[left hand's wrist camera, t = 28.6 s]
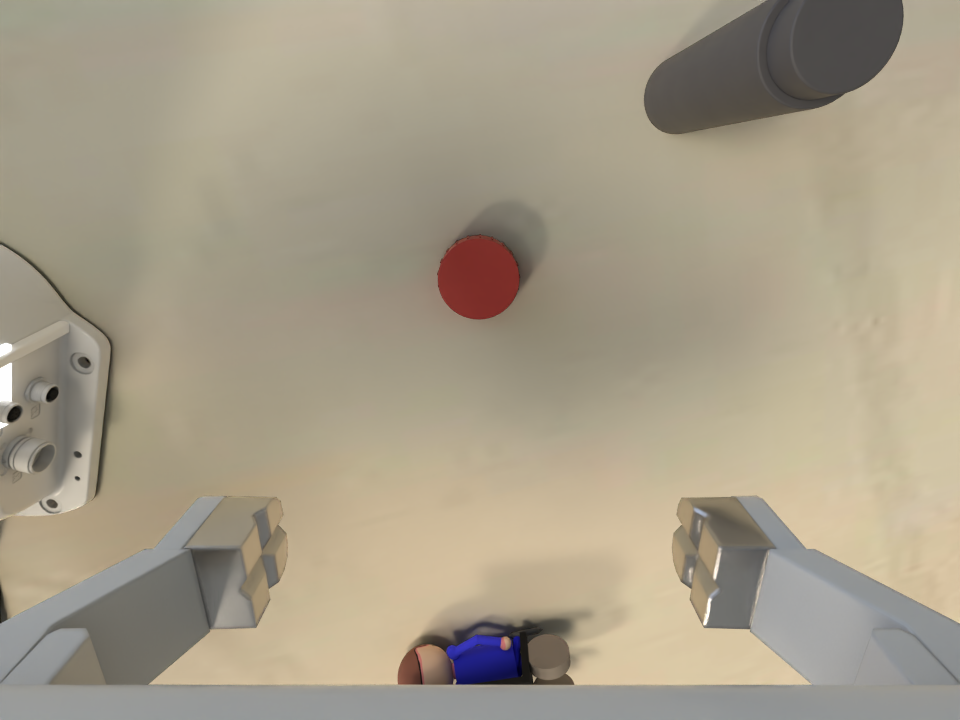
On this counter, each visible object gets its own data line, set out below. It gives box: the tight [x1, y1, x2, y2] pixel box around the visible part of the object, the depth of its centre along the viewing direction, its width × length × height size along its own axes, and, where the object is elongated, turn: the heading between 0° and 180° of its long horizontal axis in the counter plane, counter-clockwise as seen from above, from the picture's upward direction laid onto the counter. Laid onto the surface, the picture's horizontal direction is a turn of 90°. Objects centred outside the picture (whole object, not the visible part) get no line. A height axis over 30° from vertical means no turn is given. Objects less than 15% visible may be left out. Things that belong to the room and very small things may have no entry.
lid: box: [437, 234, 520, 319], centre depth 35 cm, size 6×6×2 cm
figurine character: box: [398, 627, 574, 685], centre depth 44 cm, size 7×8×15 cm
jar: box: [644, 0, 903, 134], centre depth 24 cm, size 4×4×15 cm
